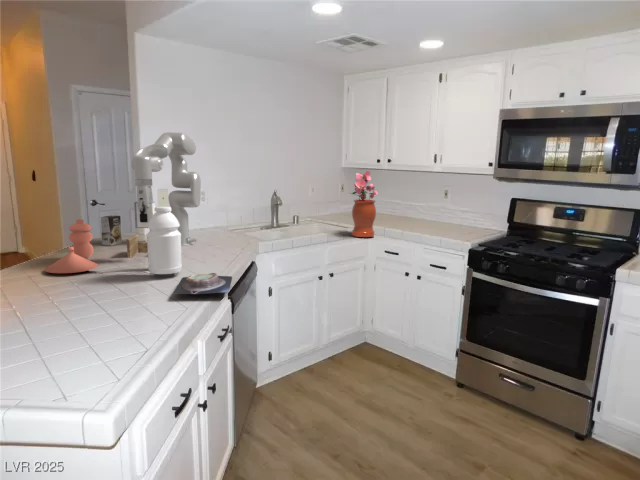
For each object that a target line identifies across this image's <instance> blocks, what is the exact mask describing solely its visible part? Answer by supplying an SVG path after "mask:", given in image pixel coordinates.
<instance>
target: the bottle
mask: <svg viewBox="0 0 640 480" xmlns="http://www.w3.org/2000/svg"><path fill="white" fill-rule="evenodd" d="M171 211H172V210H171V207H170V206H165V205H164V206H163V205H162V206H155V214H154V215H153V216H152V217H151V218H150V220H149V222H148V224H147V227H148V228H147V229H149V231H148V232H147V233H146V243H147V250H148V252H147V264H148V266H147V270H148V272H149V273H150V274H153V275H155V274H157V275H168V274H175V273H178V272H180V271H182V270H183V262H182V246H181V233H180V232H179V231H178V227H179V226H180V224H179V222H178V220H177V218H176V217H175V216H174V215H173V214H172V213H171Z"/></svg>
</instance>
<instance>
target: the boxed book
mask: <svg viewBox="0 0 640 480" xmlns="http://www.w3.org/2000/svg"><path fill="white" fill-rule="evenodd" d="M133 203H134V204H133V207H134V219H135V220H134V221H135V223H134V224H135V229H149V228H148V227H147V224H148V222H149V220H150V218H151V217H152V216H153V215H154V214H155V213H156V211H155V207H156V201H153V202H150V203H149V206H150V207H149V208H147V206H146V214H147V221H148V222H140V210H139V207H138V205H137V201H135V202H133ZM139 204H140V203H139ZM143 207H145V206H143ZM144 210H145V209H144Z"/></svg>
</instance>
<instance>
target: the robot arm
mask: <svg viewBox="0 0 640 480" xmlns="http://www.w3.org/2000/svg"><path fill="white" fill-rule="evenodd" d="M196 151H197V145H196V143H195V141H194V140H193V139H192V138H191V137H190V136H188V135H187V134H185V133H183V132H171V131H170V132H167V131H166V132H163V133H162V134H160V136H159V137H158V139H156V140H155V142H154V143H153V144H150V145H147V146H145V147H143V148H140V149H139V150H138V151H136V153H135V154H134V155H133V156H132V158H131V162H130V163H131V168H132V170H134V171H133V172H134V173H133V174H134V186H135V187H136V202H137V205H138V207H139V210H140V222H148V221H147V214H146V206H147V208H149V207H150V206H149V203H150V202H154V199H153V189H152V188H153V173H158V172H160V171H162V170H163V167H164V162H163V160H162V159H164V158H167V157H168V158H169V160H170V164H171V185H172V187H173V188H175V189H190V190H173V191H170V192H169V194H168V198H167V199H168V203H169V207H171V210H172V211H170V212H171V213H172V214H173V215H174V216H175V217H176V218H177V220H178V222H179V224H180V226H179V227H178V231H179V232H180V233H181V247H188V246H192V244H193V243H197V241H198V240H197V238H191V236H190V231H189V230H190V229H189V228H190V227H189V214H188V211H187V210H186V209H185V208H193V209H194V208H199V206H200V205H201V177H200V174H199V173H198V172H197V171H188V162H187V160H186V159H185V157H184V156H193V155H194V154H195V153H196ZM139 203H140V204H139ZM143 206H145V207H143ZM144 209H145V210H144Z"/></svg>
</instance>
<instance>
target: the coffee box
mask: <svg viewBox="0 0 640 480" xmlns="http://www.w3.org/2000/svg"><path fill="white" fill-rule="evenodd" d="M121 222H122V221H121V215H106V216H101V217H100V223H101V224H100V228H101V229H100V230H101V232H100V233H101V245H102V246H116V245H119V244H122V242H123V241H122V225H121V224H122V223H121Z"/></svg>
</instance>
